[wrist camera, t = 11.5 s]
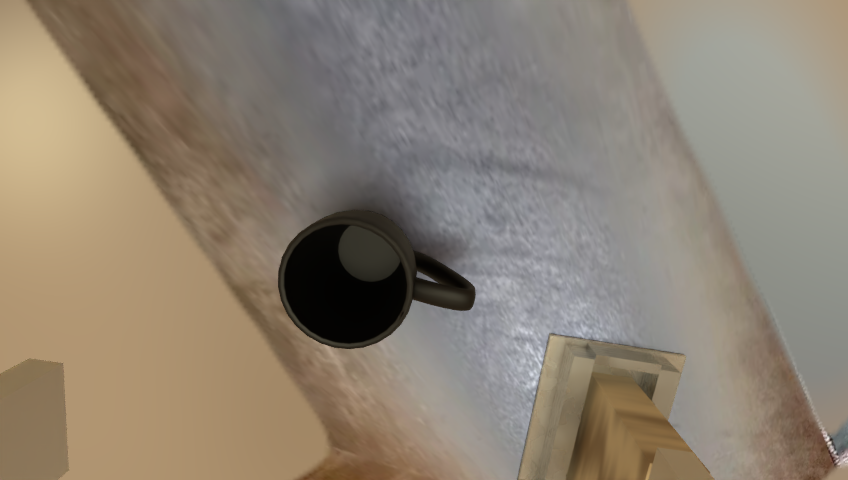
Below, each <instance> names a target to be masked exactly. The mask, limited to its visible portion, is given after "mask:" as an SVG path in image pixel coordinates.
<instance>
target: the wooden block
mask: <svg viewBox="0 0 848 480" xmlns="http://www.w3.org/2000/svg"><path fill="white" fill-rule="evenodd" d="M657 447H659V448H666V449H673V450H680V451H687V452H693V451H692V450H691V449H690V447H689V446H688V445H687V444H686V443H685V441H684V440H683V439H682V438H681V437H680V435H679V434H678V433H677V432H676V430H675V429H674V428H673V427H672V426H671V424H670V423H669V422H668V421H667V419H666V418H665V417H664V416H663V415H662V413H661V412H660V411H659V410H658V409H657V407H656V406H655V405H654V404H653V402H652V401H651V400H650V399H649V398H648V396H647V395H646V394H645V393H644V391H643V390H642V389H641V388H640V387H639V385H638V384H637V383H636V382H635V381H634V379H633V378H629V377H623V376H616V375H610V374H604V373H597V372H592V374H591V378H590V383H589V387H588V391H587V395H586V399H585V403H584V407H583V411H582V415H581V419H580V423H579V427H578V431H577V436H576V440H575V444H574V448H573V452H572V456H571V460H570V464H569V468H568V472H567V476H566V480H648V479H649V476H650V472H651V468H652V465H653V461H654V457H655V454H656V450H657ZM693 453H694V452H693ZM695 456H696V455H695ZM696 457H697V456H696ZM697 458H698V457H697ZM698 459H699V458H698ZM699 461H700V460H699ZM700 462H701V461H700ZM701 463H702V462H701ZM702 465H703V463H702ZM703 466H704V465H703ZM704 467H705V466H704ZM705 468H706V467H705ZM706 470H707V471H708V469H707V468H706ZM708 472H709V471H708ZM709 473H710V472H709Z"/></svg>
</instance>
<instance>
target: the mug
mask: <svg viewBox="0 0 848 480" xmlns="http://www.w3.org/2000/svg"><path fill="white" fill-rule="evenodd" d="M417 271H418V272H421V273H423V274H425V275H427V276H428V277H430V278H432V279H433V280H435V281H436V282H438V283H435V282H431V281H427V280H424V279H420V278H417V277H416V275H417ZM278 288H279V293H280V297H281V301H282V304H283V306H284V308H285V310H286V312H287V314H288V316H289V317H290V318H291V320H292V321H293V322H294V324H295V325H296V326H297V327H298V328H299V329H300V330H301V331H302V332H304V333H305V334H306V335H307V336H309V337H310V338H312V339H314V340H316V341H318V342H319V343H322V344H325V345H328V346H331V347H334V348H344V349H354V348H363V347H366V346H369V345H372V344H375V343H378V342H380V341H381V340H383V339H384V338H386V337H388V336H389V335H391V334H392V333H393V332H394V331H395V330H396V329H397V328H398V327H399V326H400V325H401V323H402V322H403V320H404V319H405V317H406V315H407V314H408V312H409V309H410V306H411V303H412V300H416V301H420V302H423V303H427V304H430V305H434V306H438V307H443V308H447V309H452V310H459V311H466V310H470V309H471V308H472V307H473V304H474V301H475V295H476V294H475V287H474V286H473V285H472V284H471V283H470V282H469V281H468V280H466V279H465V278H464V277H462V276H461V275H459V274H458V273H456V272H455V271H453V270H451V269H450V268H448V267H447V266H445V265H443V264H442V263H440V262H438V261H437V260H435V259H433V258H431V257H429V256H427V255H425V254H422V253H419V252H416V251H413V249H412V247H411V244H410V242H409V240H408V238H407V237H406V236H405V234H404V233H403V231H402V230H401V229H400V228H399V227H398V226H397V225H396V224H395V223H394V222H393V221H391V220H389V219H388V218H386V217H384V216H383V215H380V214H377V213H374V212H371V211H363V210H349V211H342V212H337V213H334V214H331V215H329V216H326V217H324V218H322V219H320V220H318V221H317V222H315V223H313V224H311V225H310V226H308V227H307V228H306V229H304V230H303V231H301V232H300V233H299V234H298V235H297V236H296V237H295V238H294V239H293V240H292V241H291V242H290V244H289V245H288V247H287V249H286V251H285V253H284V255H283V256H282V260H281V264H280V267H279V272H278Z"/></svg>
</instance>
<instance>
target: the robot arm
mask: <svg viewBox="0 0 848 480" xmlns="http://www.w3.org/2000/svg"><path fill="white" fill-rule="evenodd" d="M68 470H69V466H68V446H67V428H66V409H65V390H64V370H63V363H58V362H51V361H44V360H36V359H28V360H26V361H24V362H22V363H20V364H18V365H16V366H14V367H12V368H10V369H8V370H6V371H5V372H3V373H1V374H0V480H58V479H59V478H60V477H61V476H63V475H64V474H65V473H66V472H67V471H68ZM648 480H714V478H713V477H712V476H711V475H710V473H709V472H708V471H707V470H706V468H705V467H704V466H703V465H702V463H701V462H700V461H699V459H698V458H697V457H696V456H695V454H694V453H693V452H687V451H680V450H673V449H666V448H659V447H657V450H656V454H655V457H654V461H653V465H652V468H651V472H650V476H649V479H648Z"/></svg>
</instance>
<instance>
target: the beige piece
mask: <svg viewBox="0 0 848 480" xmlns="http://www.w3.org/2000/svg"><path fill="white" fill-rule="evenodd" d="M685 360H686V356H685V355H683V354H677V353H670V352H664V351H657V350H651V349H645V348H638V347H632V346H625V345H619V344H613V343H606V342H600V341H594V340H587V339H581V338H574V337H568V336H562V335H555V334H549V338H548V343H547V347H546V352H545V357H544V361H543V366H542V370H541V375H540V379H539V384H538V388H537V393H536V397H535V402H534V407H533V411H532V416H531V420H530V425H529V429H528V434H527V438H526V443H525V447H524V452H523V457H522V461H521V466H520V470H519V475H518V479H517V480H566V476H567V472H568V468H569V464H570V460H571V456H572V452H573V448H574V444H575V440H576V436H577V431H578V427H579V423H580V419H581V415H582V411H583V407H584V403H585V399H586V395H587V391H588V387H589V383H590V378H591V374H592V372H597V373H604V374H610V375H616V376H623V377H629V378H633V379H634V381H635V382H636V383H637V384H638V385H639V387H640V388H641V389H642V390H643V391H644V393H645V394H646V395H647V396H648V398H649V399H650V400H651V401H652V402H653V404H654V405H655V406H656V407H657V409H658V410H659V411H660V412H661V413H662V415H663V416H664V417H665V418H666V419H667V421H668V418H669V415H670V411H671V408H672V404H673V401H674V398H675V394H676V391H677V387H678V384H679V380H680V377H681V373H682V370H683V367H684V363H685Z"/></svg>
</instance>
